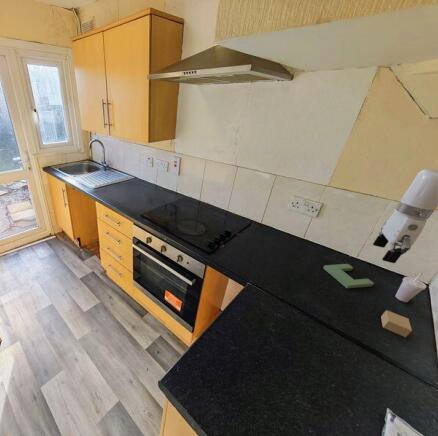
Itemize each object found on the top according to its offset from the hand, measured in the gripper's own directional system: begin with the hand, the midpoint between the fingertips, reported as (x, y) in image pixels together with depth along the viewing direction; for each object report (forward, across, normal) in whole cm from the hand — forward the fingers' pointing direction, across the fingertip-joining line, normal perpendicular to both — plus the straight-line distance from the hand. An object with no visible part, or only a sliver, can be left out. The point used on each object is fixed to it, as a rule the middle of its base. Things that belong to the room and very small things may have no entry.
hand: (382, 253), depth 79 cm
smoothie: (+26, +15, -21) cm, 37 cm away
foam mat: (+26, +19, -3) cm, 33 cm away
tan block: (+26, -5, -13) cm, 29 cm away
